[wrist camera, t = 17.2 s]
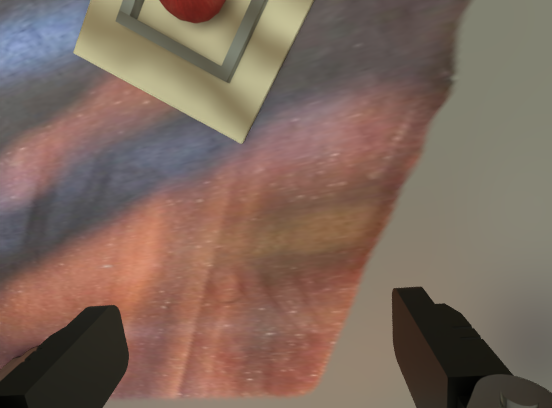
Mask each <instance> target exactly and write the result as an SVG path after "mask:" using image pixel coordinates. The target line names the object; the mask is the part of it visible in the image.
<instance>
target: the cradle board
mask: <svg viewBox="0 0 552 408" xmlns="http://www.w3.org/2000/svg"><path fill="white" fill-rule="evenodd" d="M313 2H314V0H226V1H225V3H224V4H223V6H222V8H221V10H220V11H219V13H218V14H216V15H215V16H214V17H213V18H211V19H210V20H209V21H206V22H201V23H191V22H187V21H182V20H180V19H178V18H177V17H175V16H174V15H172V14H171V13H169V12H168V11H167V10H166V9H165V8H164V6H163V5H162V4H161V2H160V1H159V0H91V1H90V4H89V7H88V10H87V13H86V16H85V19H84V22H83V25H82V28H81V31H80V34H79V37H78V40H77V43H76V46H75V49H74V52H73V53H74V54H76V55H78V56H80V57H82V58H84V59H85V60H87V61H89V62H91V63H93V64H95V65H97V66H98V67H100V68H102V69H104V70H106V71H108V72H109V73H111V74H113V75H115V76H117V77H119V78H121V79H122V80H124V81H126V82H128V83H130V84H132V85H133V86H135V87H137V88H139V89H141V90H143V91H145V92H146V93H148V94H150V95H152V96H154V97H156V98H158V99H159V100H161V101H163V102H165V103H167V104H169V105H170V106H172V107H174V108H176V109H178V110H180V111H182V112H183V113H185V114H187V115H189V116H191V117H193V118H194V119H196V120H198V121H200V122H202V123H204V124H206V125H207V126H209V127H211V128H213V129H215V130H217V131H219V132H220V133H222V134H224V135H226V136H228V137H230V138H231V139H233V140H235V141H237V142H239V143H241V144H242V143H243V142H244V140H245V138H246V136H247V134H248V132H249V130H250V128H251V126H252V124H253V122H254V120H255V118H256V116H257V114H258V112H259V110H260V108H261V106H262V104H263V102H264V100H265V98H266V96H267V94H268V92H269V90H270V88H271V86H272V84H273V82H274V80H275V78H276V76H277V74H278V72H279V70H280V68H281V66H282V64H283V62H284V60H285V58H286V56H287V54H288V52H289V50H290V48H291V46H292V44H293V42H294V40H295V38H296V36H297V34H298V32H299V30H300V28H301V26H302V24H303V22H304V20H305V18H306V16H307V14H308V12H309V10H310V8H311V6H312V4H313Z"/></svg>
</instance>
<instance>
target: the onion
mask: <svg viewBox="0 0 552 408" xmlns="http://www.w3.org/2000/svg"><path fill="white" fill-rule="evenodd" d="M159 1H160V2H161V4H162V5H163V6H164V8H165V9H166V10H167V11H168V12H169V13H171V14H172V15H174V16H175V17H177V18H178V19H180V20H182V21H187V22H191V23H201V22H206V21H209V20H210V19H211V18H213V17H214V16H215V15H216V14H218V13H219V11H220V10H221V8H222V6H223V4H224V3H225V1H226V0H159Z"/></svg>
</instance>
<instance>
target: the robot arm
mask: <svg viewBox="0 0 552 408" xmlns="http://www.w3.org/2000/svg"><path fill="white" fill-rule="evenodd" d="M392 319H393V320H392V321H393V345H394V351H395V355H396V359H397V362H398V364H399V367H400V369H401V372H402V374H403V376H404V379H405V381H406V384H407V386H408V388H409V391H410V393H411V395H412V398H413V400H414V403H415V405H416V407H417V408H552V393H551V392H550V391H549V390H547V389H546V388H544V387H542V386H540V385H539V384H537V383H534V382H532V381H530V380H527V379H524V378H521V377H517V376H514V375H513V374H512V373H511V372H510V371H509V370H508V368H507V367H506V366H505V365H504V364H503V362H502V361H501V360H500V359H499V358H498V356H497V355H496V354H495V353H494V352H493V351H492V349H491V348H490V347H489V346H488V345H487V343H486V342H485V341H484V340H483V339H481V337H480V335H479V334H478V333H477V332H476V330H475V329H474V328H472V326H471V324H470V323H469V322H468V321H467V320H466V319H465V317H464V316H463V315H462V314H461V313H460V312H458V311H456V310H454V309H453V308H451V307H450V306H448V305H446V304H434V302H433V301H432V300H431V298H430V297H429V296H428V294H427V293H426V292H425V290H424V289H423V288H422V287H409V288H408V287H407V288H394V289H393V292H392ZM128 360H129V352H128V347H127V342H126V338H125V333H124V329H123V324H122V319H121V315H120V311H119V309H118V307H117V306H115V305H107V306H91V307H87V308H85V309H84V310H83V311H82V312H81V313H80V314H79V315H78V316H77V317H76V318H75V319H74V320H72V321H71V322H70V323H69V324H68V325H67V326H66V327H64V328H63V329H61V330H59V331H58V332H56V333H54V334H53V335H51V336H50V337H48V338H47V339H46V340H45V341H44V342H43V343H42V344H41V345H40V346H38V347H35V348H32V349H30V350H28V351H27V352H26V353H25V354H23V355H22V356H21V357H17V358H13V359H12V360H11V361H10V362H9V363H7V364H6V365H5V366H4V367H3V368H2V369H0V408H103V406H104V405H105V403H106V402H107V400H108V399H109V397H110V396H111V394H112V393H113V391H114V389H115V388H116V386H117V385H118V383H119V382H120V380H121V379H122V377H123V376H124V374H125V372H126V369H127V366H128Z"/></svg>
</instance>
